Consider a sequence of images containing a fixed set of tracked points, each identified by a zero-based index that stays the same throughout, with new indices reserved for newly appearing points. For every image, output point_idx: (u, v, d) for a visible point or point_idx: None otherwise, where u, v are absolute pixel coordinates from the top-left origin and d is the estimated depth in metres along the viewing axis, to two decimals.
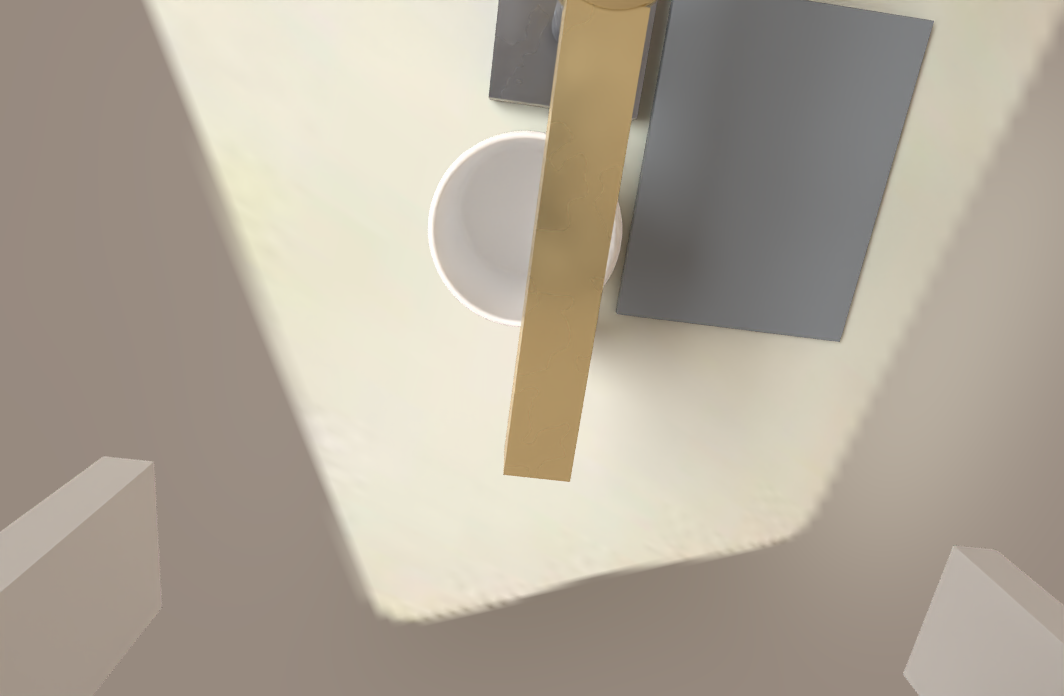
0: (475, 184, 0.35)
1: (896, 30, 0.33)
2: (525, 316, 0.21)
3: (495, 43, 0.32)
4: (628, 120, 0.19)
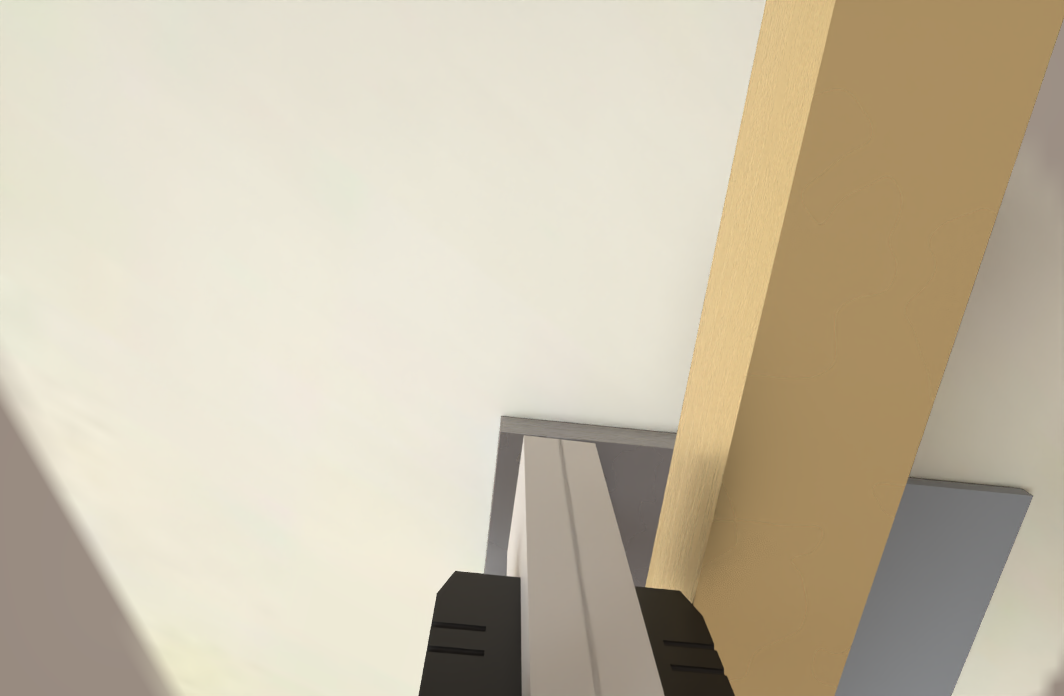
0: None
1: (985, 506, 0.27)
2: None
3: (488, 549, 0.26)
4: None
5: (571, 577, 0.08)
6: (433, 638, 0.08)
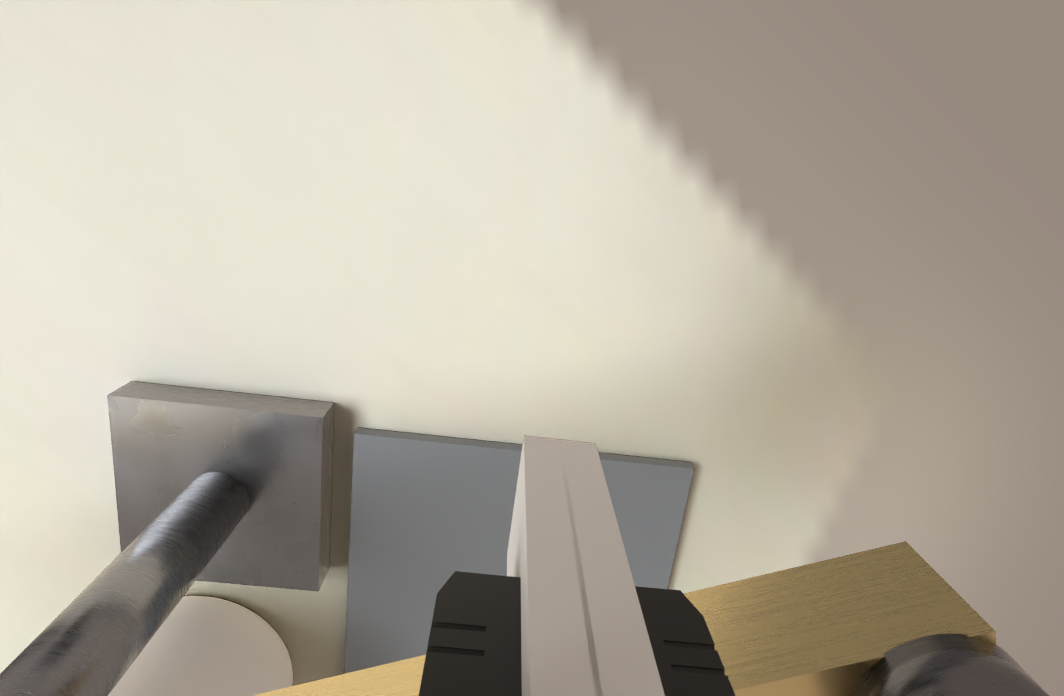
0: None
1: (646, 480, 0.26)
2: None
3: (119, 519, 0.25)
4: None
5: (571, 577, 0.08)
6: (433, 638, 0.08)
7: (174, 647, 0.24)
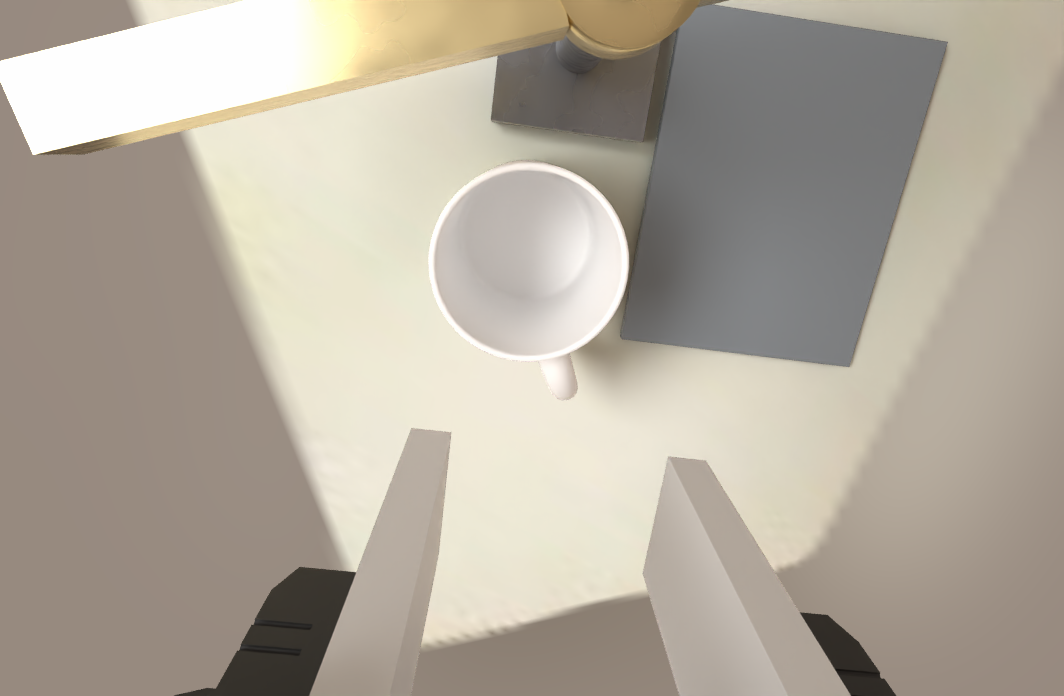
0: (477, 207, 0.34)
1: (909, 51, 0.32)
2: (201, 12, 0.17)
3: (497, 65, 0.31)
4: (457, 49, 0.17)
5: (404, 573, 0.08)
6: (250, 636, 0.07)
7: None
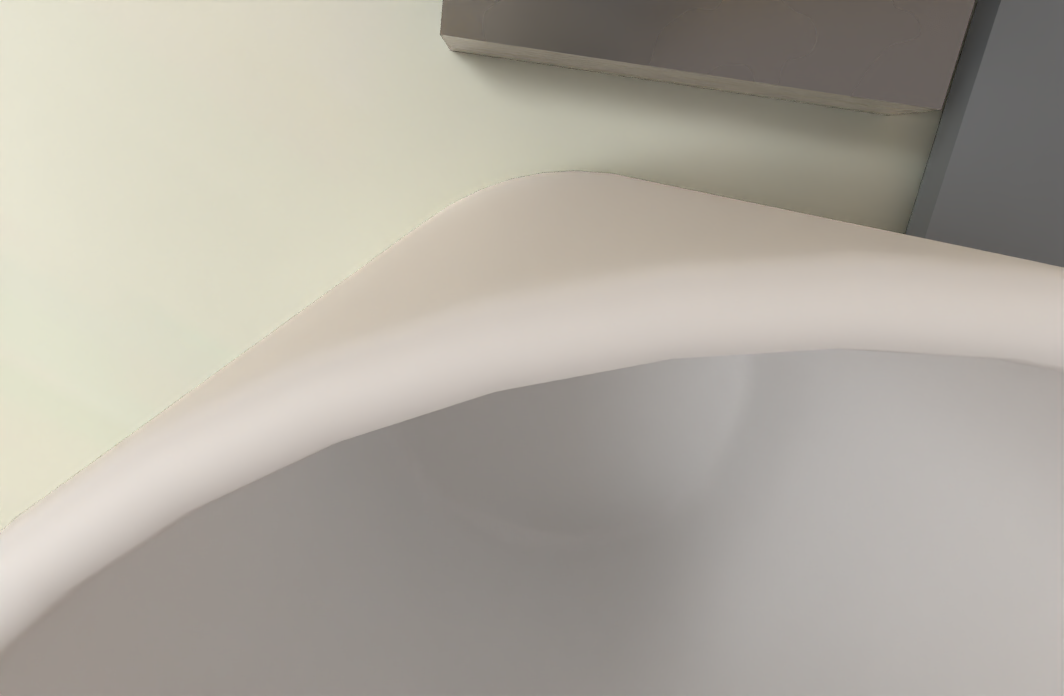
0: None
1: None
2: None
3: None
4: None
5: None
6: None
7: None
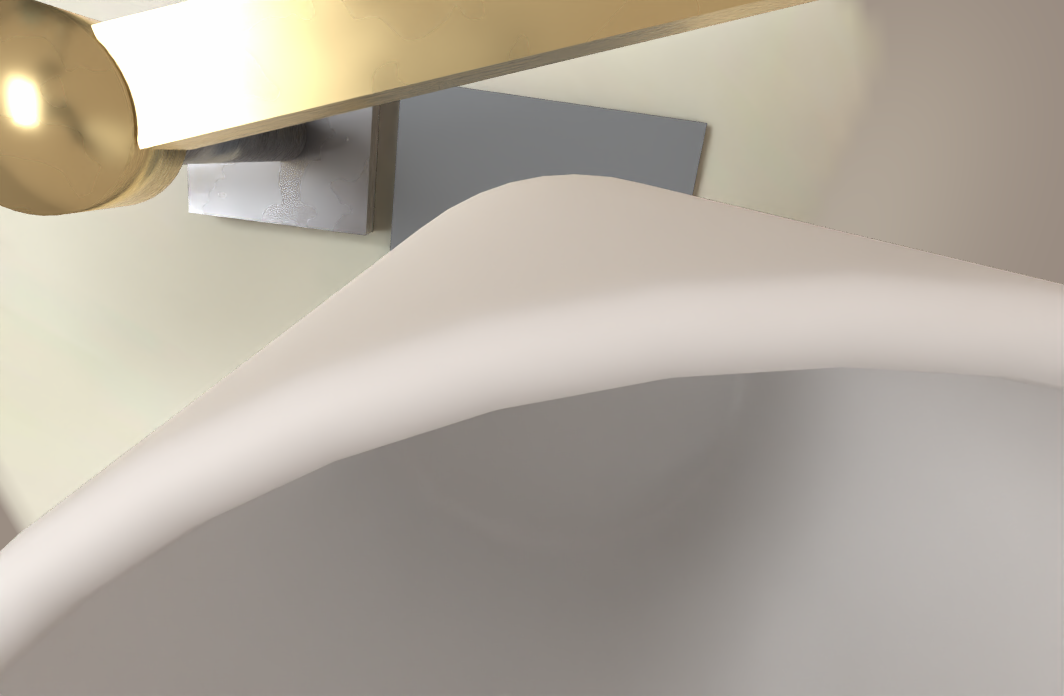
0: None
1: (664, 133, 0.28)
2: None
3: None
4: None
5: None
6: None
7: (654, 186, 0.08)
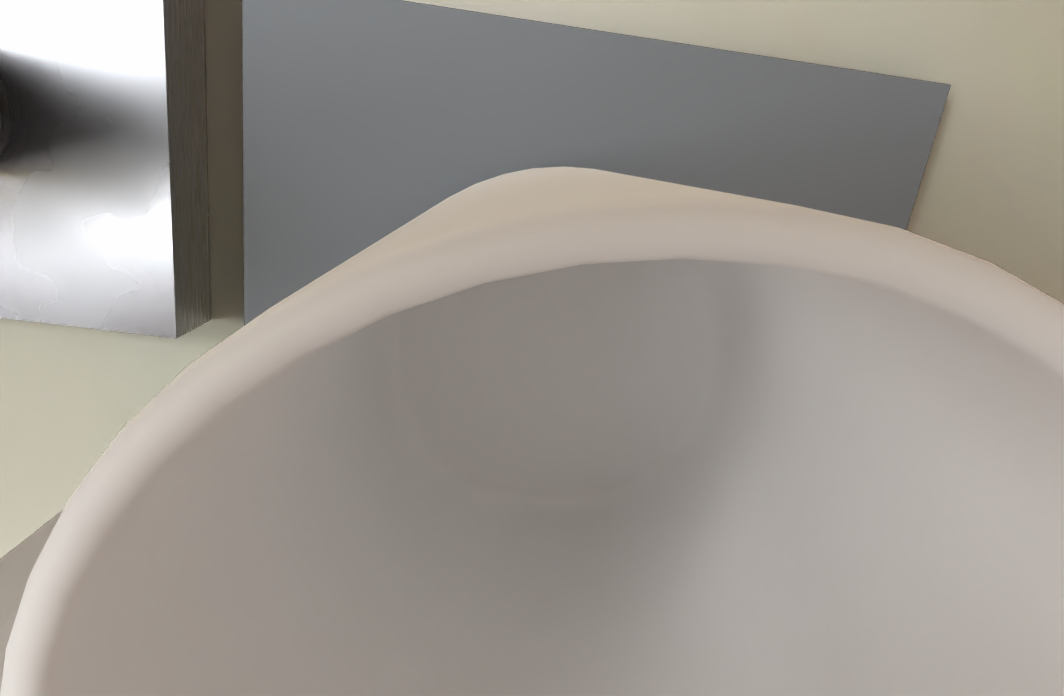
0: None
1: (852, 109, 0.13)
2: None
3: None
4: None
5: None
6: None
7: None
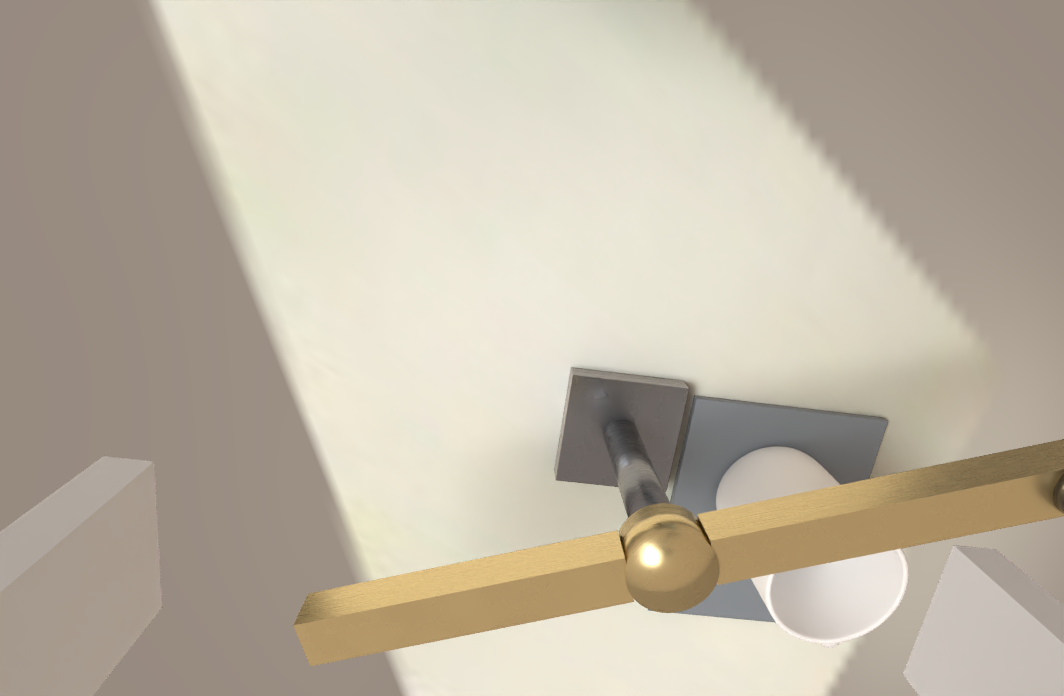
0: None
1: (860, 427, 0.44)
2: (418, 600, 0.29)
3: (561, 447, 0.43)
4: (567, 613, 0.29)
5: None
6: None
7: (808, 466, 0.41)
